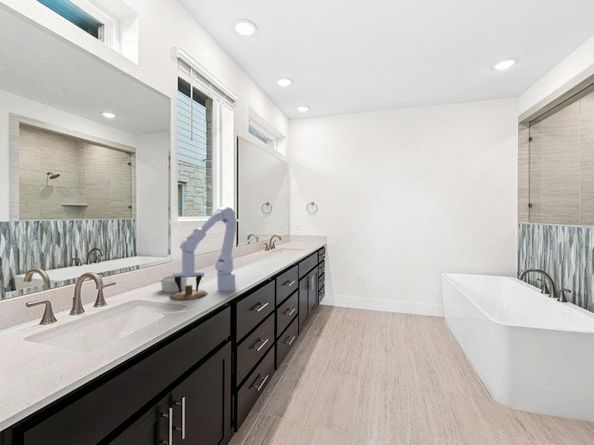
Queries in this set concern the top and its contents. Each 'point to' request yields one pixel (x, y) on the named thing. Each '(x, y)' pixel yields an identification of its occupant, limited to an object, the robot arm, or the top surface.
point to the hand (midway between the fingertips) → (188, 291)
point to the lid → (188, 294)
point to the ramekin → (172, 284)
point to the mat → (187, 300)
